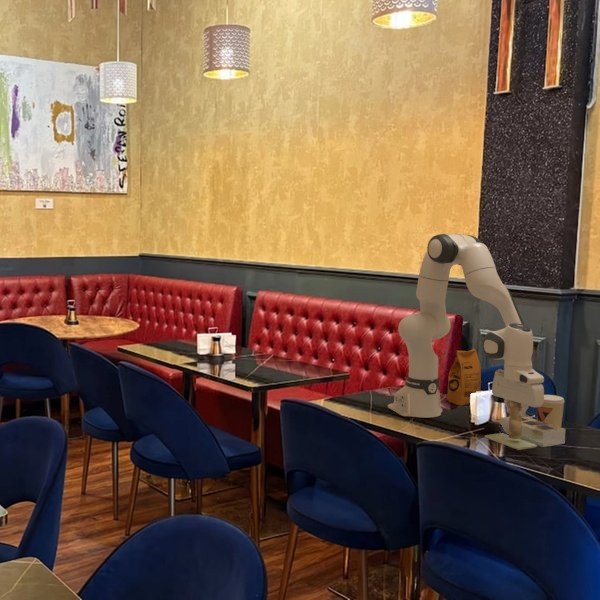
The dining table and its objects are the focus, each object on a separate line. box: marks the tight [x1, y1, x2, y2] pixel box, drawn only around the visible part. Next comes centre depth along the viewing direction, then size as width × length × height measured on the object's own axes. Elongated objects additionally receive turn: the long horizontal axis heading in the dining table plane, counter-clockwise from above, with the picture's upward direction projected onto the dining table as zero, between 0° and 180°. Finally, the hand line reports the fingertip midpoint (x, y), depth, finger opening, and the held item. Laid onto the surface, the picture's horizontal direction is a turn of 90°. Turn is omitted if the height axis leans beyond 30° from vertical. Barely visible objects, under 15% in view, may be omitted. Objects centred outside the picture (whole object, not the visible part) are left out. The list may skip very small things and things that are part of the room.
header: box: [499, 415, 566, 448], centre depth 245 cm, size 20×10×5 cm, turn 27°
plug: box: [508, 401, 522, 439], centre depth 238 cm, size 4×4×12 cm
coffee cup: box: [536, 394, 565, 428], centre depth 254 cm, size 9×9×12 cm
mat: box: [484, 432, 538, 451], centre depth 240 cm, size 16×8×1 cm, turn 27°
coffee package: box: [446, 348, 482, 407], centre depth 295 cm, size 10×12×22 cm
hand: (515, 414), depth 237 cm, fingers closed on plug, 4 cm apart
